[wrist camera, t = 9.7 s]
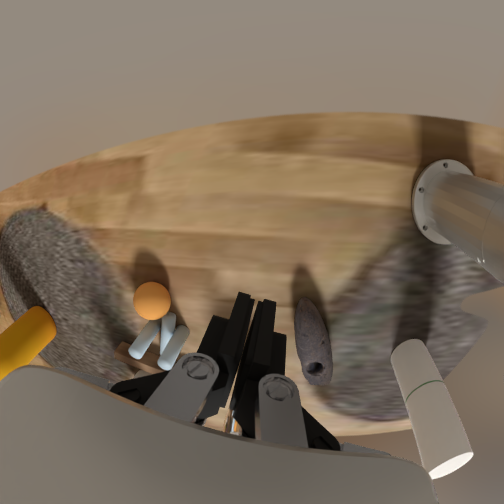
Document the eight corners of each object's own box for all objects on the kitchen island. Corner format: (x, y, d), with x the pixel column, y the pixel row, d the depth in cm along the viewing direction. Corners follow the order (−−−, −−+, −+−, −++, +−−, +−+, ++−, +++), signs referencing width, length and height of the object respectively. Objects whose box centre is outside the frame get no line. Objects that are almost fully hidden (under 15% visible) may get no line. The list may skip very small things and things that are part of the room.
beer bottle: (52, 309, 51) (-28, 386, 25) (61, 340, 55) (-6, 417, 28) (29, 300, 52) (-47, 366, 25) (38, 330, 56) (-27, 397, 29)
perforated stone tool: (287, 291, 42) (286, 318, 36) (321, 285, 41) (326, 311, 34) (302, 363, 47) (302, 392, 40) (332, 358, 46) (335, 387, 39)
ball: (161, 328, 44) (182, 300, 45) (145, 327, 38) (170, 296, 39) (137, 304, 45) (157, 277, 46) (119, 300, 39) (142, 270, 40)
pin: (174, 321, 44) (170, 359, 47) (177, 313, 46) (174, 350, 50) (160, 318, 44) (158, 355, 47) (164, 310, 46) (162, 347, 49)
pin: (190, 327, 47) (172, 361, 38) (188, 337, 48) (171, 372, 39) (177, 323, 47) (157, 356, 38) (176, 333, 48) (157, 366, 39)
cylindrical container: (393, 372, 46) (425, 483, 22) (387, 349, 44) (425, 470, 21) (426, 357, 44) (470, 462, 20) (422, 332, 42) (476, 445, 19)
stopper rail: (216, 374, 50) (212, 387, 47) (214, 380, 51) (210, 393, 48) (122, 341, 51) (114, 351, 47) (122, 347, 51) (114, 358, 48)
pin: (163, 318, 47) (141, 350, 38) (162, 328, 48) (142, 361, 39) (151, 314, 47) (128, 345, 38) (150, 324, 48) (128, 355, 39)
